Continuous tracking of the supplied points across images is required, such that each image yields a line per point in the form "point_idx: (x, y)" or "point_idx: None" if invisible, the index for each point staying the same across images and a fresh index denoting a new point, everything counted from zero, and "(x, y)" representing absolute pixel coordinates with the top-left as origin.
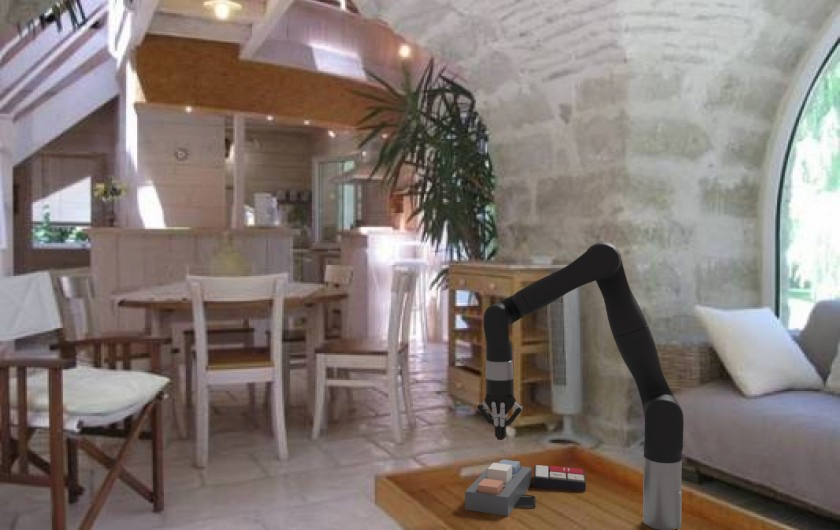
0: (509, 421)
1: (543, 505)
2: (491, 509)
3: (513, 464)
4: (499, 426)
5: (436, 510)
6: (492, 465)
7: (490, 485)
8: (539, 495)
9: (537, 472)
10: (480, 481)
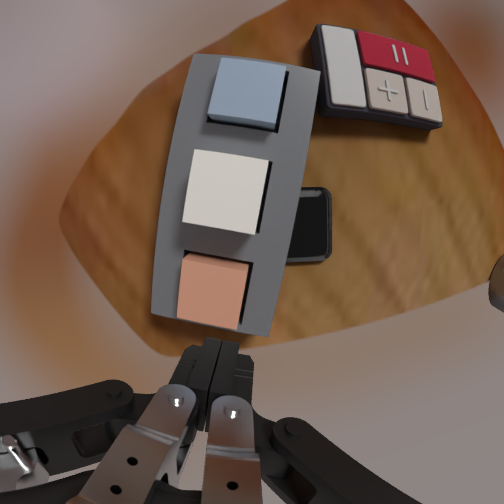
0: (282, 480)
1: (349, 234)
2: None
3: (266, 95)
4: (201, 424)
5: (115, 307)
6: (194, 182)
7: (213, 316)
8: (338, 165)
9: (334, 76)
10: (173, 228)
